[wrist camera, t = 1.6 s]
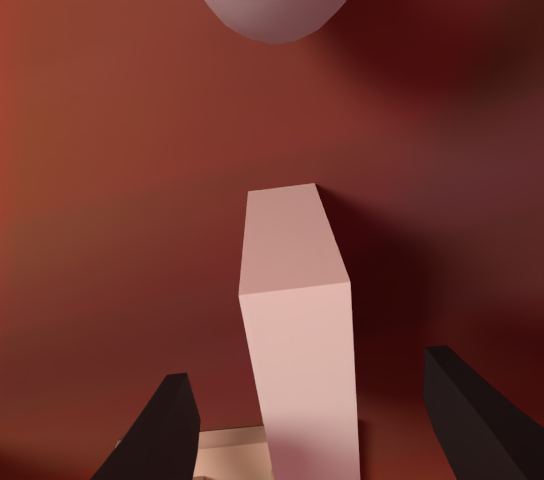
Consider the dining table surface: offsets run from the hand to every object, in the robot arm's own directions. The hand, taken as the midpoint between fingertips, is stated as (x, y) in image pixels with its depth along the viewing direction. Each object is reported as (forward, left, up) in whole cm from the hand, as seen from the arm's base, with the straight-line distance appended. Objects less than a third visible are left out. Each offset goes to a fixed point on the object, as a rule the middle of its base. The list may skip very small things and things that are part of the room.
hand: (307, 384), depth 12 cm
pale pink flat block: (0, 0, -6) cm, 6 cm away
